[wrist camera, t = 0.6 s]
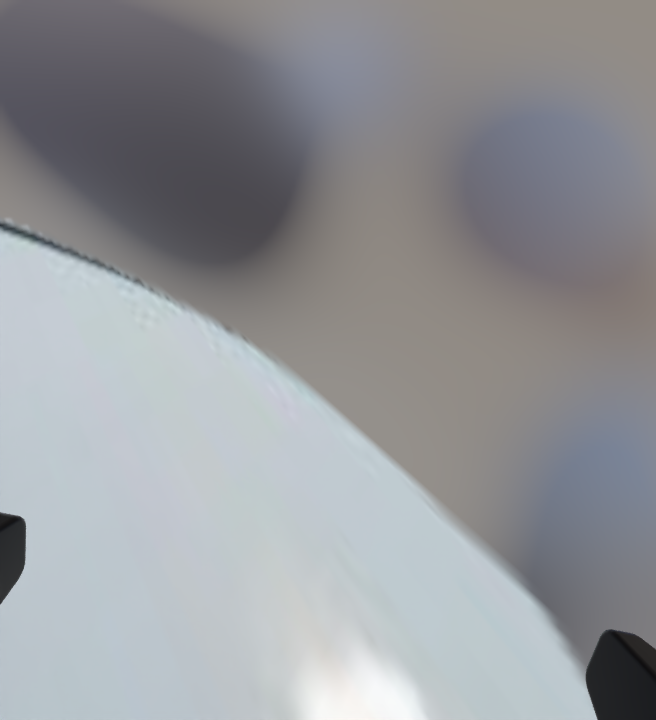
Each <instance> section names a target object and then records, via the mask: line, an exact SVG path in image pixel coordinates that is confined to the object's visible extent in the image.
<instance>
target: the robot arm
mask: <svg viewBox="0 0 656 720" xmlns="http://www.w3.org/2000/svg"><path fill="white" fill-rule="evenodd" d="M25 552H26V523H25V521H24V519H23V518H22V517H20V516H17V515H11V514H6V513H1V512H0V604H1V603H2V602H3V600H4V599H5V597H6V596H7V595H8V593H9V592H10V590H11V589H12V588H13V586H14V585H15V583H16V582H17V581H18V579H19V577H20V576H21V574H22V571H23V569H24V565H25ZM586 684H587V689H588V692H589V695H590V698H591V701H592V704H593V707H594V710H595V713H596V716H597V719H598V720H656V649H655V648H653V647H652V646H651V645H649V644H648V643H647V642H645V641H644V640H643V639H641V638H640V637H639V636H637V635H635V634H632V633H628V632H623V631H617V630H612V629H610V630H606V631H604V632H603V633H602V634H601V636H600V638H599V641H598V643H597V646H596V648H595V650H594V652H593V655H592V657H591V659H590V662H589V664H588V666H587V670H586Z"/></svg>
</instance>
